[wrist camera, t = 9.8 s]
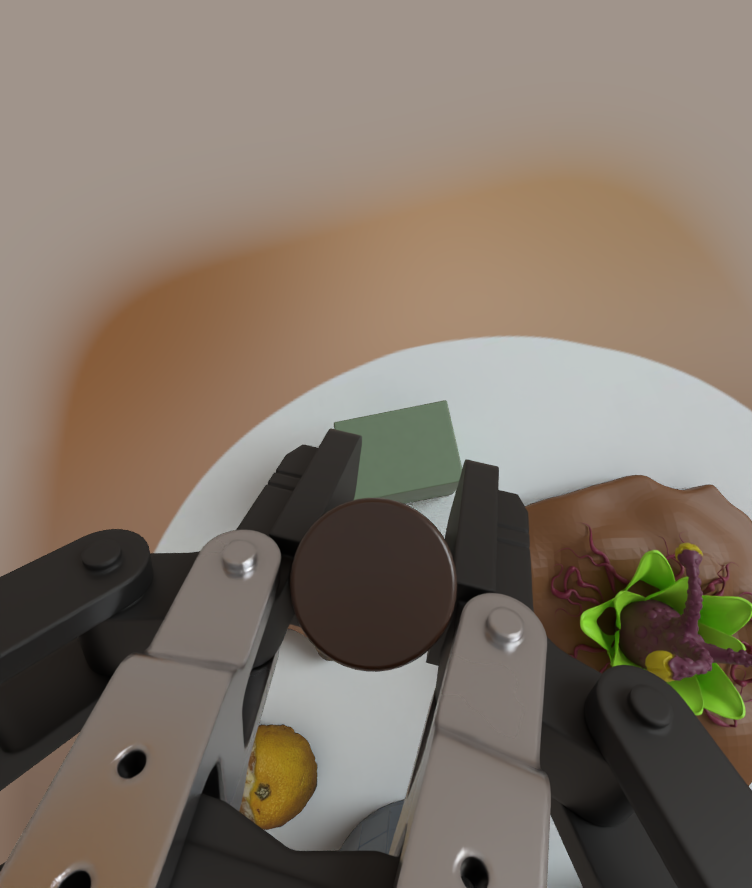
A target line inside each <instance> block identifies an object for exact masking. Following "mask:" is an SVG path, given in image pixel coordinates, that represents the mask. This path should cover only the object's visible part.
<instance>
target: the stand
mask: <svg viewBox="0 0 752 888" xmlns="http://www.w3.org/2000/svg"><path fill="white" fill-rule="evenodd" d="M334 428H335V430H340V431H344V432H348V433H353V434H357V435H361V436H362V447H361V454H360V462H359V470H358V478H357V485H356V492H355V497H354V500H356V499H363V498H384V499H390V500H394V501H398V502H401V503H403V504H405V503H410V502H415V501H420V500H425V499H430V498H435V497H441V496H446V495H451V494H453V493H454V492H455V490H456V489H457V487H458V483H459V479H460V476H461V472H462V466H461V461H460V457H459V453H458V448H457V444H456V439H455V435H454V431H453V426H452V422H451V417H450V413H449V409H448V404H447V401H446V400H445V401H440V402H435V403H430V404H425V405H420V406H415V407H410V408H405V409H399V410H394V411H389V412H384V413H379V414H374V415H369V416H364V417H359V418H354V419H349V420H344V421H339V422H335V423H334Z"/></svg>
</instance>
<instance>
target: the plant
mask: <svg viewBox="0 0 752 888" xmlns="http://www.w3.org/2000/svg"><path fill="white" fill-rule="evenodd" d="M525 508H526V509H527V511H528V517H529V536H530V547H529V549H530V555H531V574H532V593H533V608H534V613H535V615H536V616H537V617H538V618H539V620H540V621H541V623H542V625H543V627H544V629H545V632H546V636H547V637H548V638H549V639H550V640H551V641H552V642H553V643H554V644H555V645H556V646H557V647H559V648H560V649H561V650H562V651H564V652H565V653H567V654H568V655H570V656H572V657H573V658H575V659H577V660H579V661H580V662H582V663H584V664H586V665H588V666H589V667H591V668H593V669H595V670H596V671H598V672H600V673H602V674H603V673H604V672H605V671H606V670H607V669H609V668H610V667H613V666H617V665H631V666H635V667H639V668H642V669H645V670H647V671H649V672H651V673H653V674H655V675H657V676H658V677H660V678H661V679H663V680H664V681H665V682H667V683H668V684H669V685H670V686H672V687H673V688H674V689H675V690H676V691H677V692H678V693H679V695H680V696H681V697H682V698H683V699H684V701H685V702H686V703H687V705H688V706H689V707H690V709H691V710H692V711H693V713H694V714H695V715H696V717H697V718H698V719H699V721H700V722H701V723H702V725H703V726H704V727H705V729H706V730H707V731H708V733H709V734H710V735H711V737H712V738H713V739H714V741H715V742H716V743H717V745H718V746H719V747H720V749H721V750H722V751H723V753H724V754H725V755H726V757H727V758H728V759H729V761H730V762H731V763H732V765H733V766H734V767H735V769H736V770H737V771H738V773H739V774H740V775H741V777H742V778H743V780H744V781H745V782H746V784H747V785H748V786H749V785H750V784H751V782H752V521H751V520H750V518H749V517H748V516H747V515H746V514H745V513H744V512H742V511H741V510H739V509H738V508H736V507H735V506H733V505H732V504H731V503H730V502H729V501H728V500H727V499H726V498H725V497H724V496H723V495H722V494H721V493H720V492H719V491H718V489H717V488H716V487H715V486H713V485H703V486H698V487H692V488H689V489H687V490H678V489H673V488H670V487H666V486H664V485H661V484H659V483H657V482H656V481H654V480H652V479H651V478H649V477H647V476H643V475H632V476H626V477H622V478H619V479H616V480H613V481H610V482H606V483H602V484H598V485H594V486H590V487H587V488H584V489H580V490H577V491H574V492H571V493H567V494H564V495H561V496H556V497H552V498H548V499H545V500H541V501H538V502H536V503H533V504H530V505H527V506H525Z"/></svg>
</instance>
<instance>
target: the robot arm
mask: <svg viewBox="0 0 752 888" xmlns="http://www.w3.org/2000/svg"><path fill="white" fill-rule="evenodd" d="M361 447H362V436H361V435H357V434H353V433H348V432H344V431H340V430H335V429H329V431H328V432H327V434H326V436H325V437H324V439H323V441H322V443H321V444H320V446H319V448H316V447H312V446H308V445H301V446H300V447H298V448H297V449H295V450H293V451H292V452H290V453H288V454H287V455H286V456H285V457H284V459H283V460H282V462H281V463H280V465H279V466H278V468H277V469H276V473H275V472H274V474H273V475H272V477H271V478H270V480H269V481H268V485H266V486H265V487H264V489H263V490H262V492H261V493H260V495H259V496H258V498H257V499H256V501H255V502H254V504H253V505H252V507H251V508H250V510H249V511H248V513H247V514H246V516H245V517H244V519H243V520H242V522H241V523H240V525H239V527H238V528H237V529H236V530H235V531H230V532H226V533H223V534H221V535H218V536H217V537H215V538H213V539H212V540H210V541H209V542H208V543H207V544H206V545H205V546H204V547H203V548H202V550H201V551H199V552H193V553H151V554H150V551H149V546H148V544H147V542H146V541H145V540H144V538H143V537H141V536H140V535H139V534H137V533H134V532H131V531H128V530H122V529H111V530H103V531H99V532H95V533H92V534H89V535H87V536H84V537H82V538H80V539H78V540H76V541H74V542H72V543H70V544H68V545H66V546H63V547H62V548H59V549H57V550H55V551H53V552H51V553H49V554H47V555H45V556H43V557H41V558H39V559H36V560H35V561H33V562H30V563H28V564H26V565H24V566H22V567H20V568H18V569H16V570H14V571H12V572H10V573H8V574H6V575H4V576H1V577H0V791H1V790H2V789H3V788H5V787H6V786H8V785H9V784H10V783H12V782H13V781H14V780H16V779H17V778H18V777H20V776H21V775H22V774H24V773H25V772H26V771H28V770H29V769H30V768H32V767H33V766H34V765H36V764H37V763H39V762H40V761H41V760H43V759H44V758H45V757H47V756H48V755H49V754H51V753H52V752H53V751H55V750H56V749H57V748H59V747H60V746H61V745H62V744H64V743H66V742H67V741H68V740H70V739H71V738H72V737H73V736H75V735H76V734H78V733H79V732H80V731H81V732H80V733H79V735H78V737H77V739H76V740H75V742H74V744H73V746H72V747H71V749H70V751H69V753H68V754H67V756H66V758H65V760H64V761H63V763H62V765H61V767H60V768H59V770H58V772H57V774H56V775H55V777H54V779H53V781H52V782H51V784H50V786H49V788H48V789H47V791H46V793H45V795H44V796H43V798H42V800H41V802H40V803H39V805H38V807H37V809H36V810H35V812H34V814H33V816H32V817H31V819H30V821H29V822H28V824H27V826H26V828H25V830H24V831H23V833H22V835H21V836H20V838H19V840H18V842H17V843H16V845H15V847H14V849H13V850H12V852H11V854H10V856H9V857H8V859H7V861H6V862H5V863H3V864H2V865H0V888H547V873H548V851H549V830H550V815H551V817H552V819H553V821H554V824H555V826H556V828H557V830H558V832H559V835H560V837H561V839H562V841H563V844H564V846H565V848H566V850H567V853H568V855H569V857H570V859H571V861H572V864H573V866H574V868H575V870H576V873H577V875H578V877H579V879H580V882H581V884H582V886H583V888H752V790H751V789H750V788H749V786H748V785H747V784H746V782H745V781H744V780H743V778H742V777H741V775H740V774H739V773H738V771H737V770H736V769H735V767H734V766H733V765H732V763H731V762H730V761H729V759H728V758H727V757H726V755H725V754H724V753H723V751H722V750H721V749H720V747H719V746H718V745H717V743H716V742H715V741H714V739H713V738H712V737H711V735H710V734H709V733H708V731H707V730H706V729H705V727H704V726H703V725H702V723H701V722H700V721H699V719H698V718H697V717H696V715H695V714H694V713H693V711H692V710H691V709H690V707H689V706H688V705H687V703H686V702H685V701H684V699H683V698H682V697H681V696H680V695H679V693H678V692H677V691H676V690H675V689H674V688H673V687H672V686H670V685H669V684H668V683H667V682H665V681H664V680H663V679H661V678H660V677H658V676H657V675H655V674H653V673H651V672H649V671H647V670H645V669H642V668H639V667H635V666H631V665H617V666H613V667H610V668H609V669H607V670H606V671H605V672H604V673H603V674H602V673H600V672H598V671H596V670H595V669H593V668H591V667H589V666H588V665H586V664H584V663H582V662H580V661H579V660H577V659H575V658H573V657H572V656H570V655H568V654H567V653H565V652H564V651H562V650H561V649H560V648H559V647H557V646H556V645H555V644H554V643H553V642H552V641H551V640H550V639H549V638H548V637H547V636H546V632H545V629H544V627H543V625H542V623H541V621H540V620H539V618H538V617H537V616H536V615H535V613H534V608H533V593H532V574H531V555H530V549H529V547H530V536H529V517H528V511H527V509H526V508H525V506H524V504H523V503H522V501H521V499H520V498H519V496H518V495H517V494H513V493H509V492H505V491H500V490H498V480H499V468H498V467H497V466H493V465H488V464H484V463H480V462H475V461H471V460H465V462H464V465H463V469H462V472H461V476H460V479H459V483H458V487H457V490H456V494H455V497H454V501H453V505H452V508H451V512H450V516H449V520H448V524H447V529H446V534H445V541H446V542H447V544H448V547H449V549H450V551H451V553H452V556H453V560H454V563H455V568H456V574H457V595H456V602H455V606H454V611H453V613H452V616H451V619H450V621H449V623H448V625H447V627H446V629H445V631H444V633H443V634H442V635H441V637H440V638H439V640H438V641H437V642H436V643H435V644H434V645H433V646H432V647H431V648H430V650H428V653H427V660H426V662H427V663H430V664H434V665H437V666H439V667H438V674H437V682H436V688H435V691H434V694H433V697H432V700H431V703H430V706H429V710H428V714H427V718H426V721H425V725H424V729H423V733H422V737H421V740H420V744H419V748H418V752H417V755H416V759H415V763H414V767H413V770H412V774H411V778H410V782H409V785H408V789H407V793H406V797H405V800H404V804H403V807H402V811H401V814H400V818H399V821H398V824H397V827H396V831H395V834H394V837H393V841H392V844H391V848H390V851H389V854H386V853H383V852H380V851H295V850H292V849H290V848H288V847H286V846H285V845H283V844H282V843H281V842H279V841H278V840H277V839H275V838H274V837H273V836H271V835H270V834H269V833H267V832H266V831H265V830H263V829H262V828H261V827H259V826H258V825H256V824H255V823H254V822H252V821H251V820H250V819H248V818H247V817H246V816H244V815H243V814H242V813H240V812H239V810H240V806H241V802H242V797H243V793H244V787H245V782H246V774H247V768H248V763H249V758H250V754H251V750H252V747H253V743H254V740H255V736H256V733H257V729H258V726H259V723H260V719H261V716H262V712H263V709H264V705H265V702H266V698H267V695H268V691H269V688H270V684H271V681H272V677H273V674H274V670H275V667H276V663H277V660H278V656H279V647H280V645H281V643H282V641H283V639H284V636H285V634H286V632H287V629H288V627H289V625H290V624H291V625H294V626H298V627H300V625H299V623H298V621H297V618H296V616H295V613H294V610H293V606H292V601H291V595H290V573H291V567H292V563H293V559H294V556H295V553H296V550H297V548H298V546H299V544H300V542H301V540H302V539H303V537H304V535H305V534H306V532H307V531H308V530H309V529H310V527H311V526H312V525H313V524H314V523H315V522H316V521H317V520H318V519H319V518H320V517H321V516H323V515H324V514H325V513H327V512H328V511H330V510H331V509H333V508H335V507H336V506H339V505H341V504H343V503H346V502H349V501H352V500H354V497H355V492H356V485H357V478H358V470H359V462H360V454H361Z"/></svg>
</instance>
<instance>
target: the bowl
mask: <svg viewBox="0 0 752 888" xmlns="http://www.w3.org/2000/svg"><path fill="white" fill-rule="evenodd" d="M403 804H404V800H403V801H399V802H395V803H392V804H389V805H387V806H385V807H382V808H380V809H379V810H377V811H375V812H374V813H372V814H370V815H369V816H368V817H367V818H365V819H364V820H363V821H362V822H361V823H360V824H359V825H358V826H357V827H356V828H355V829H354V830H353V831H352V832H351V834H350V835H349V836H348V838H347V839H346V841H345V842H344V844H343V845H342V847H341V849H340V851H380V852H383V853H386V854H389V851H390V848H391V844H392V841H393V837H394V834H395V831H396V827H397V824H398V821H399V818H400V814H401V811H402V807H403Z"/></svg>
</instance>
